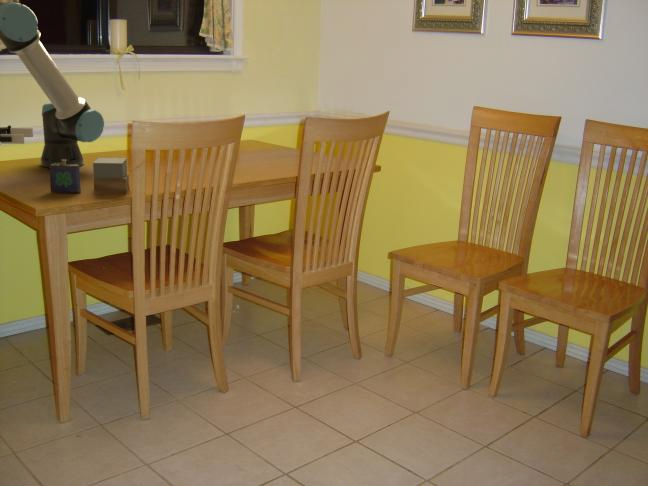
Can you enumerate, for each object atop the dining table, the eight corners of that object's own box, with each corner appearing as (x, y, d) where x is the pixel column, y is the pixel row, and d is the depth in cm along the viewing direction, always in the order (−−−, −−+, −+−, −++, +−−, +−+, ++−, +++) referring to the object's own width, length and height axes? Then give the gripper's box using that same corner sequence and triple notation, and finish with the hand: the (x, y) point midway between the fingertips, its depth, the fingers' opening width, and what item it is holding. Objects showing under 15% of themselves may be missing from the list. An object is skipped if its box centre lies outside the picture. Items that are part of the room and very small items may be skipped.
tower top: (99, 172, 248) (98, 157, 247) (127, 173, 249) (126, 158, 248) (93, 178, 240) (93, 162, 238) (122, 178, 241) (122, 163, 239)
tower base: (98, 187, 250) (97, 172, 248) (129, 187, 251) (128, 172, 250) (94, 194, 240) (93, 179, 239) (126, 194, 242) (126, 179, 240)
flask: (81, 191, 242) (79, 158, 239) (79, 193, 239) (77, 160, 236) (51, 191, 241) (49, 158, 238) (49, 193, 239) (47, 159, 235)
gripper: (-33, 140, 243) (36, 141, 246) (-57, 153, 219) (20, 154, 223) (-35, 117, 241) (35, 118, 244) (-60, 127, 217) (19, 129, 221)
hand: (28, 135), depth 233 cm, fingers open, 13 cm apart
